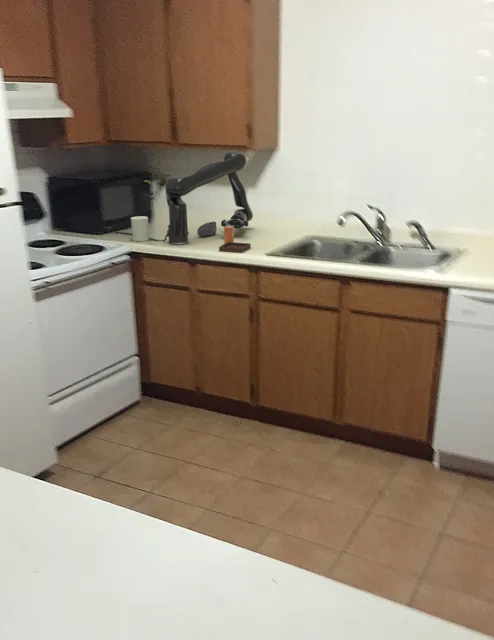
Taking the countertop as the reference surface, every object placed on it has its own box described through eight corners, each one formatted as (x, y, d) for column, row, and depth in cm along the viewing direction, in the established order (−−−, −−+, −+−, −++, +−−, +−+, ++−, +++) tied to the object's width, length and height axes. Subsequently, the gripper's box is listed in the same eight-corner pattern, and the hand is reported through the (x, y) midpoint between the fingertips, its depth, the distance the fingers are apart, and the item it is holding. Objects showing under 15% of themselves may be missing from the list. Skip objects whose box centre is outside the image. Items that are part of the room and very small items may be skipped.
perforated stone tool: (201, 238, 359) (200, 225, 356) (194, 237, 362) (193, 224, 359) (219, 234, 369) (219, 221, 367) (212, 233, 373) (212, 220, 370)
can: (134, 241, 354) (132, 218, 349) (130, 238, 362) (129, 216, 357) (151, 240, 356) (149, 217, 352) (147, 237, 364) (146, 214, 360)
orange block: (223, 245, 343) (222, 227, 340) (226, 243, 347) (226, 225, 344) (231, 245, 342) (231, 227, 338) (235, 243, 346) (234, 226, 342)
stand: (219, 251, 330) (219, 246, 329) (228, 246, 340) (228, 242, 339) (241, 253, 326) (241, 248, 325) (250, 247, 336) (250, 243, 335)
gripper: (225, 213, 365) (219, 218, 350) (250, 213, 362) (245, 218, 348) (225, 226, 368) (219, 232, 353) (251, 227, 365) (245, 233, 351)
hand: (232, 225), depth 350 cm, fingers open, 8 cm apart
